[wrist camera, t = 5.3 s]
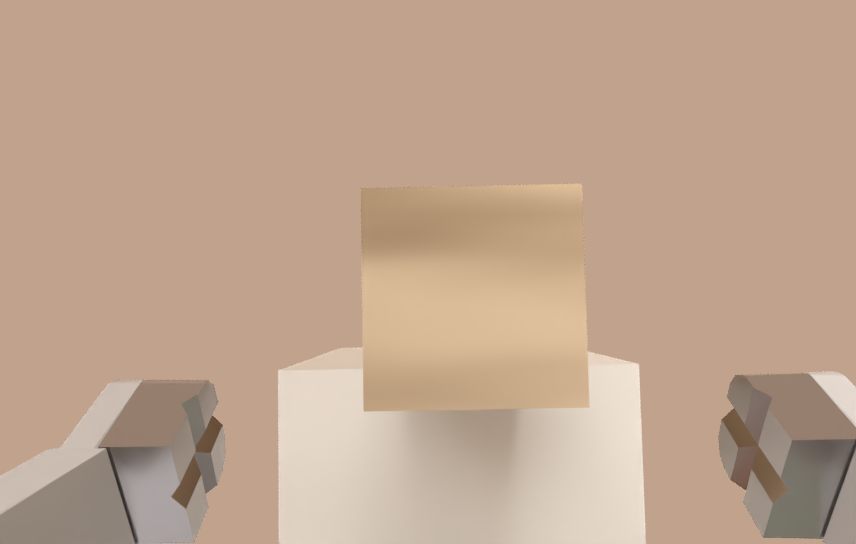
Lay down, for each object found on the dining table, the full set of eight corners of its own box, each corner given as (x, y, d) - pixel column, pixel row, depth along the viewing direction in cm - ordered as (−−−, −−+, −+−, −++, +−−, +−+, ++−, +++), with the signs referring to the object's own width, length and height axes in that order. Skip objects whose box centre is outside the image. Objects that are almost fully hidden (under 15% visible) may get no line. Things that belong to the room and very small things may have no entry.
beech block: (599, 407, 10) (591, 183, 10) (363, 411, 10) (360, 188, 10) (486, 343, 32) (485, 272, 32) (412, 344, 32) (411, 273, 32)
